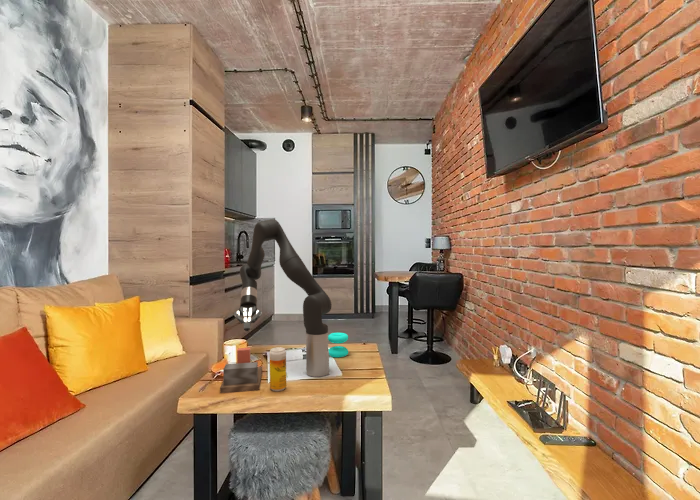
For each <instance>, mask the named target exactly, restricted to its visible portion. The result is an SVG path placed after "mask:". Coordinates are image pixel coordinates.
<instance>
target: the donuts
mask: <svg viewBox="0 0 700 500" xmlns="http://www.w3.org/2000/svg"><path fill="white" fill-rule="evenodd" d="M348 340H349V334H347V333H345V332H331V333H328V342H330V343H333V344H343V343H345V342H347V341H348ZM328 351H329V357H332V358H344V357H346V356H348V354H349V349H348V348H347V347H346V346H342V345H335V346H332V347H329V348H328Z"/></svg>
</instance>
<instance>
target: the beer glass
mask: <svg viewBox="0 0 700 500" xmlns="http://www.w3.org/2000/svg"><path fill="white" fill-rule="evenodd" d="M286 388H287V351H286V348H284V347H280V346H279V347H278V346H277V347H273V348H270V351H269V389H271V391H272V392H282V391H284V390H285V389H286Z"/></svg>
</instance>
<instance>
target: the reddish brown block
mask: <svg viewBox="0 0 700 500" xmlns="http://www.w3.org/2000/svg"><path fill="white" fill-rule="evenodd" d="M236 360H237V361H236V363H251V362H252V361H251V347H238V348H237V350H236Z"/></svg>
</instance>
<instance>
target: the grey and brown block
mask: <svg viewBox="0 0 700 500" xmlns="http://www.w3.org/2000/svg"><path fill="white" fill-rule="evenodd" d="M262 374H263V366H259V364H258V362H257V361H254V362H252V361H251V363H237V362H236V363H226V364H225V365H224V367H223V380H222V382H221V385H220V387H219V394H226V393H240V392H250V391H251V392H252V391H253V392H254V391H260V389H261V382H262Z"/></svg>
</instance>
